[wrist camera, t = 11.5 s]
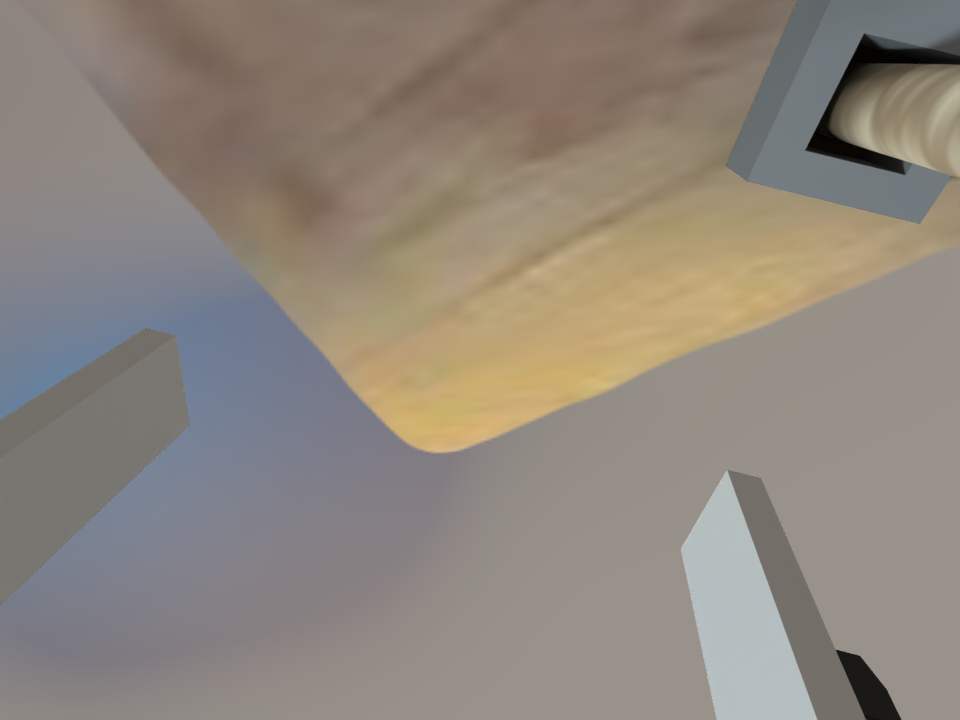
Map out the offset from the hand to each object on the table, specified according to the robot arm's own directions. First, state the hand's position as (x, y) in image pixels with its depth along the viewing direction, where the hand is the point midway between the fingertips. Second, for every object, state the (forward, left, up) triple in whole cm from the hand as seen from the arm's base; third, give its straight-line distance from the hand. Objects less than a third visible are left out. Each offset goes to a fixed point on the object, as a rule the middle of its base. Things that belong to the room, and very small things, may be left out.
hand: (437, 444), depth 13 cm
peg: (-9, +17, -29) cm, 35 cm away
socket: (-9, +17, -29) cm, 35 cm away
